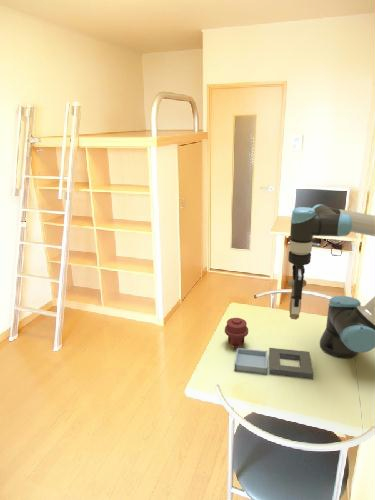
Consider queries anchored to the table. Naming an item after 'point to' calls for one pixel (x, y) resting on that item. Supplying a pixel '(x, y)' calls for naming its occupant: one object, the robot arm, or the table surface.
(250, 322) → the table surface
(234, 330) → the mechanical component
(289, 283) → the handle
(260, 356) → the tray
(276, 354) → the slotted grey plate
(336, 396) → the table surface
